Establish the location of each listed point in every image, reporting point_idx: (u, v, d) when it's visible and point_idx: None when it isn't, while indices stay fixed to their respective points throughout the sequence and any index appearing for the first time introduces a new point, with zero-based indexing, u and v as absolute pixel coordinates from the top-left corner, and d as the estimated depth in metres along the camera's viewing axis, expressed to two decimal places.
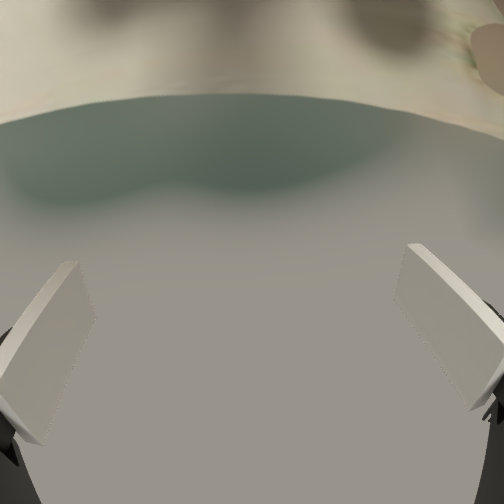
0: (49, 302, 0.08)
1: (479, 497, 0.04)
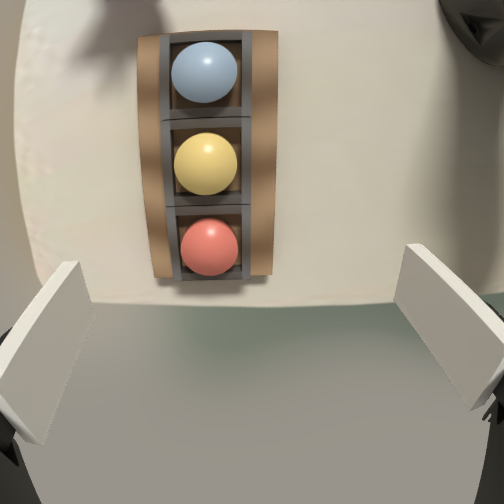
0: (49, 302, 0.08)
1: (479, 497, 0.04)
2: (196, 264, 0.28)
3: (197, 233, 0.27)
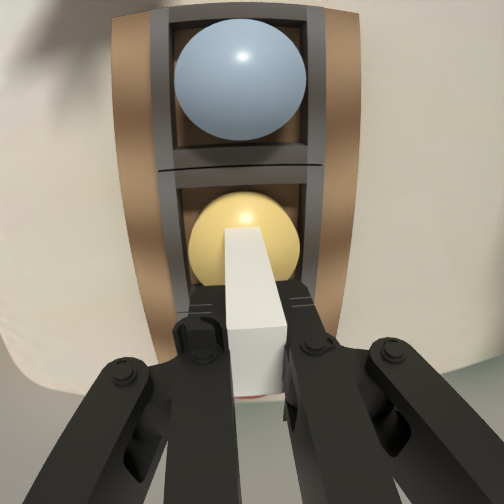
0: (247, 258, 0.11)
1: None
2: None
3: None
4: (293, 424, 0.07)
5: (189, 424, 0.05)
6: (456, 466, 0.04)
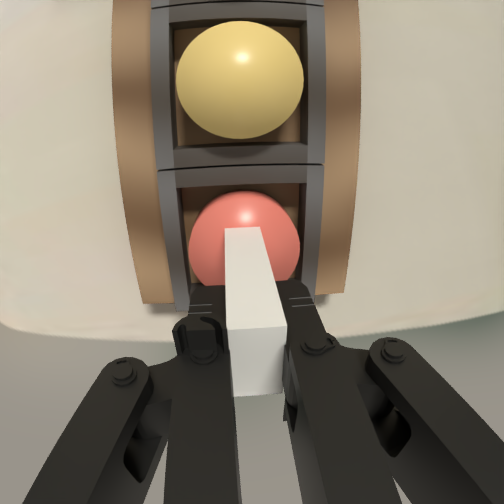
0: (247, 258, 0.11)
1: None
2: (219, 279, 0.15)
3: (222, 218, 0.13)
4: (293, 424, 0.07)
5: (189, 424, 0.05)
6: (455, 466, 0.04)
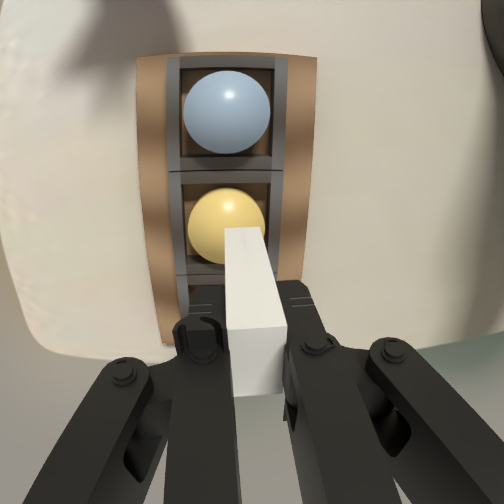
0: (247, 258, 0.11)
1: None
2: None
3: None
4: (293, 424, 0.07)
5: (189, 424, 0.05)
6: (456, 466, 0.04)
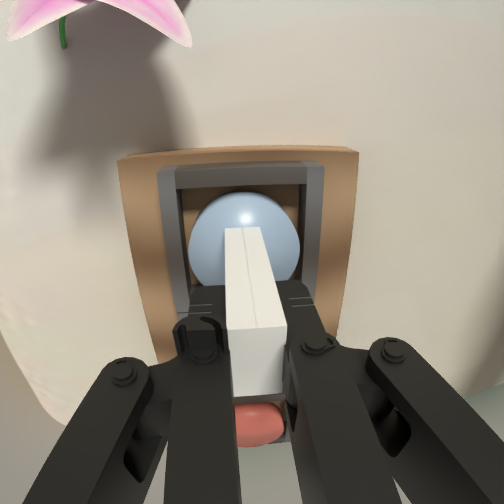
0: (247, 258, 0.11)
1: None
2: None
3: (237, 422, 0.20)
4: (293, 424, 0.07)
5: (189, 424, 0.05)
6: (456, 466, 0.04)
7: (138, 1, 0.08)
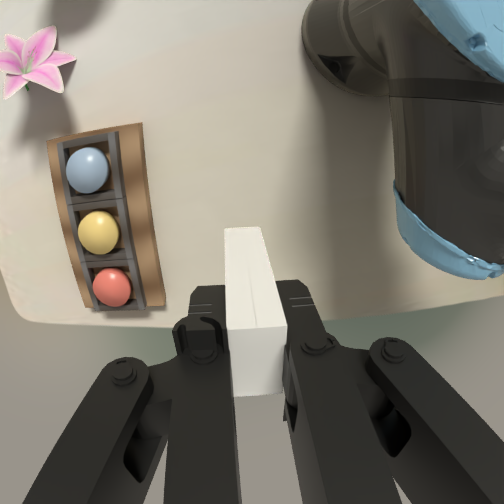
0: (246, 258, 0.11)
1: None
2: (104, 299, 0.37)
3: (101, 279, 0.36)
4: (293, 424, 0.07)
5: (189, 424, 0.05)
6: (455, 466, 0.04)
7: (45, 77, 0.24)
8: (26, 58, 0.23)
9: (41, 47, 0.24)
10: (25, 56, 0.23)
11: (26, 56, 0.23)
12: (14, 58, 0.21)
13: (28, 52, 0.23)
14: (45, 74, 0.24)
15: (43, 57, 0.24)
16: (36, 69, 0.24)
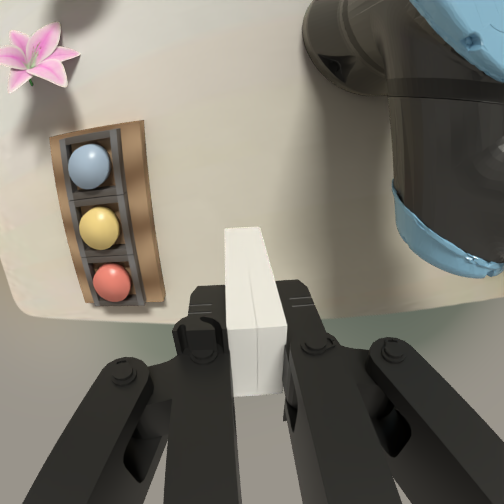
0: (246, 258, 0.11)
1: None
2: (104, 294, 0.37)
3: (101, 274, 0.36)
4: (293, 424, 0.07)
5: (189, 424, 0.05)
6: (456, 466, 0.04)
7: (49, 72, 0.24)
8: (30, 53, 0.23)
9: (45, 43, 0.24)
10: (29, 52, 0.23)
11: (30, 51, 0.23)
12: (18, 53, 0.22)
13: (32, 48, 0.23)
14: (49, 69, 0.24)
15: (47, 52, 0.25)
16: (40, 64, 0.24)
